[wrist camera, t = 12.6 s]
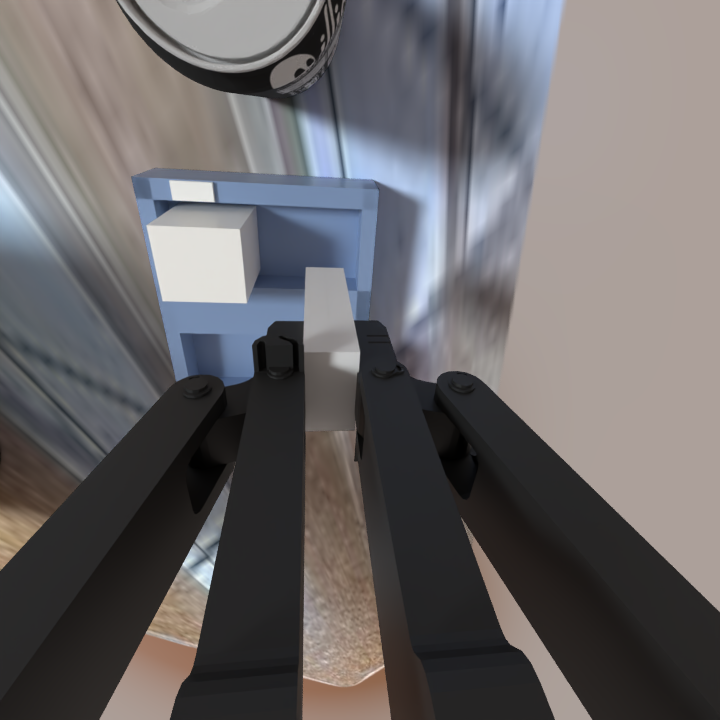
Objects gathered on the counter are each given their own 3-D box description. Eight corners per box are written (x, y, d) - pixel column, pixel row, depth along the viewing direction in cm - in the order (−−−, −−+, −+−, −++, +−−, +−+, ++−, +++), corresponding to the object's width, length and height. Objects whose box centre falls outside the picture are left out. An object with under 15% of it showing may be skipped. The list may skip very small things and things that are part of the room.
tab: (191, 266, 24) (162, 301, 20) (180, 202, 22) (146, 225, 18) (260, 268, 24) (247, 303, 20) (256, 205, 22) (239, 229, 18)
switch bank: (194, 378, 30) (180, 408, 27) (154, 167, 22) (129, 177, 19) (358, 379, 31) (362, 408, 28) (373, 179, 23) (379, 190, 20)
